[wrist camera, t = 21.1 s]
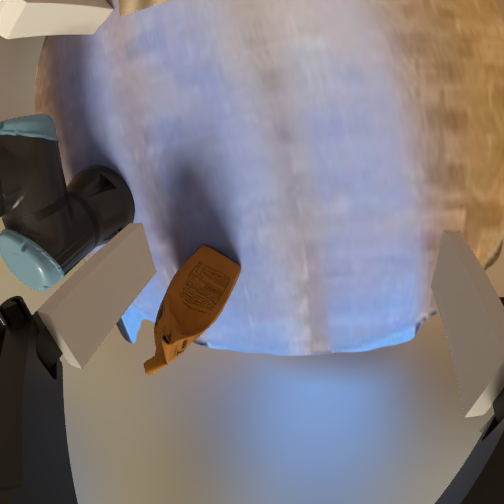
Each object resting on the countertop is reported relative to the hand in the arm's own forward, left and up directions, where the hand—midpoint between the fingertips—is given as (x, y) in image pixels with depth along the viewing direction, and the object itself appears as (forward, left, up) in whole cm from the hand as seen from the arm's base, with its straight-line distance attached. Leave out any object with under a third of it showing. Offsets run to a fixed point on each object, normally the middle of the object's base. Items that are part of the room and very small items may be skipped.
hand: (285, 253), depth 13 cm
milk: (-34, +26, -33) cm, 54 cm away
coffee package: (-20, -25, -33) cm, 46 cm away
